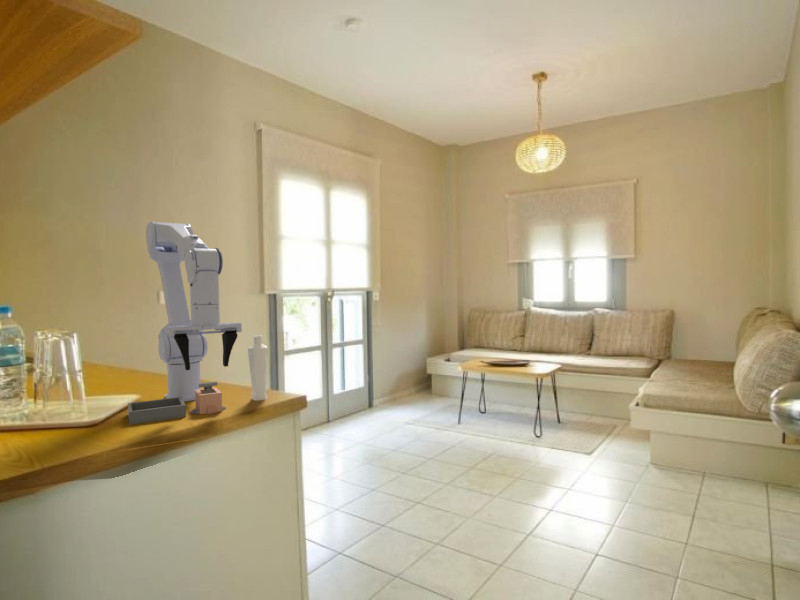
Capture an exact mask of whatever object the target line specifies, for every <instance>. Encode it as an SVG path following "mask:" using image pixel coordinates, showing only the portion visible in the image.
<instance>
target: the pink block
mask: <svg viewBox="0 0 800 600" xmlns="http://www.w3.org/2000/svg"><path fill="white" fill-rule="evenodd" d="M222 395H223V394H222V391H220V390H219V388H217V386H216V387H215V386H214V387H212V393H208V394H204V388H201V389H198V390H195V400H194V401H195V402H194V403H195V409H197V411H198V412H199V414H198V415H211V414H216V413H221V412H223V411H222V406H223V396H222ZM215 412H216V413H215ZM207 413H208V414H207Z"/></svg>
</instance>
